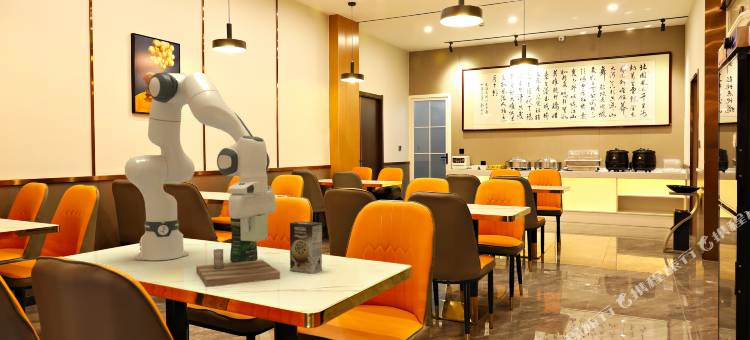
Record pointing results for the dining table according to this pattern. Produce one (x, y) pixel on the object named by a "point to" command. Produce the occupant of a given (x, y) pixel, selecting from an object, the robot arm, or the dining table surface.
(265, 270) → the post board
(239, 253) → the coffee jar
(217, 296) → the dining table surface
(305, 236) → the coffee box
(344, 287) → the dining table surface
